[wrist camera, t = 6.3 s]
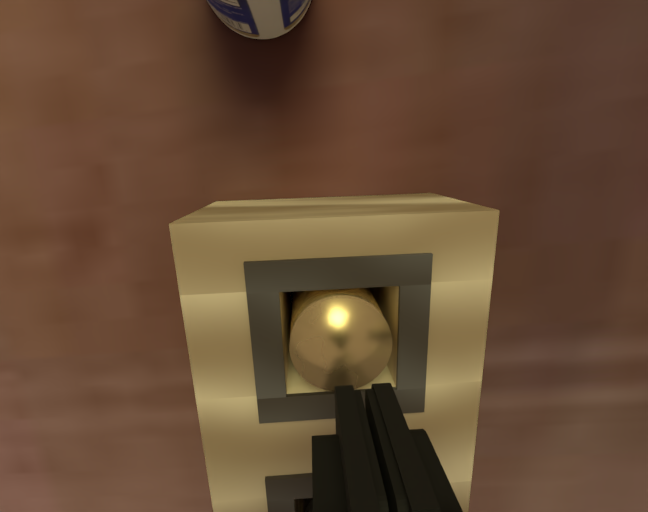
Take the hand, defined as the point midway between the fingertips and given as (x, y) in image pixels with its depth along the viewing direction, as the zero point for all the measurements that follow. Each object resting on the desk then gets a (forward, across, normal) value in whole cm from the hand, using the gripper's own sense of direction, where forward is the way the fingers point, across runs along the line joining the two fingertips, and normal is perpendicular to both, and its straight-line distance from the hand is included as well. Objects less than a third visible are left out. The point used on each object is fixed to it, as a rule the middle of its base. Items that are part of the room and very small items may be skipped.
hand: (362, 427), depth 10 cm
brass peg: (+10, 0, -1) cm, 10 cm away
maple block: (+11, 0, +4) cm, 12 cm away
